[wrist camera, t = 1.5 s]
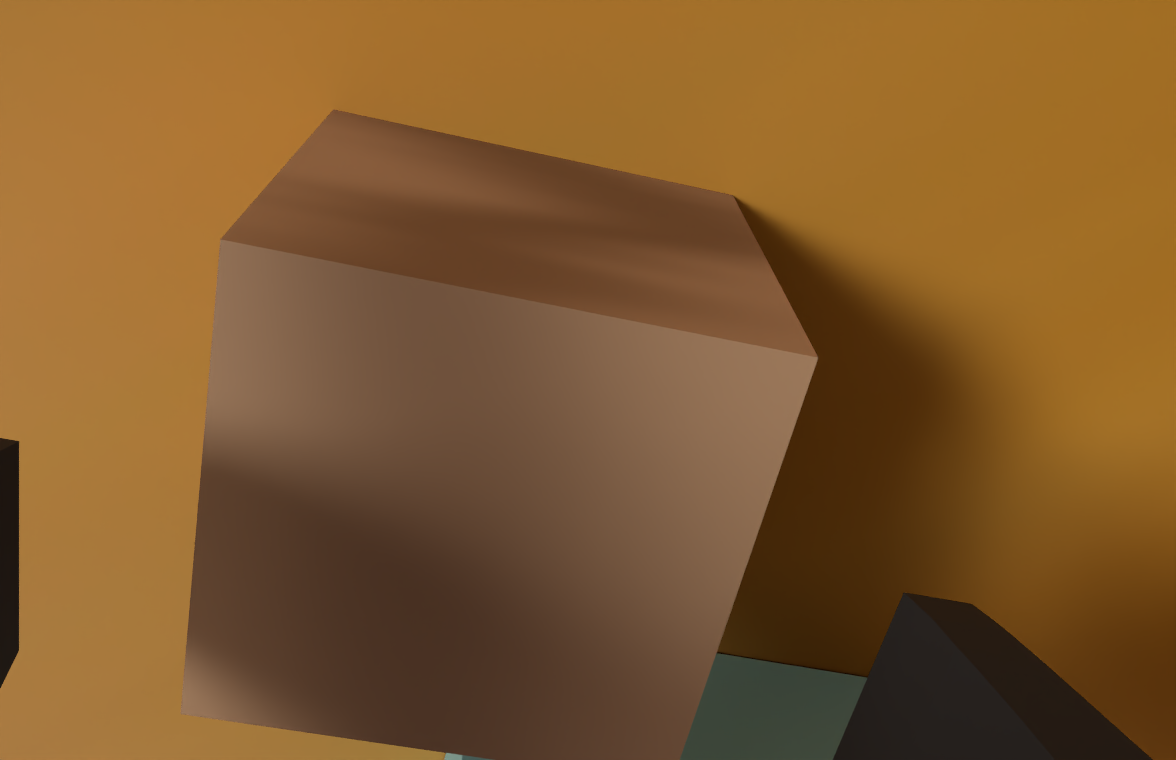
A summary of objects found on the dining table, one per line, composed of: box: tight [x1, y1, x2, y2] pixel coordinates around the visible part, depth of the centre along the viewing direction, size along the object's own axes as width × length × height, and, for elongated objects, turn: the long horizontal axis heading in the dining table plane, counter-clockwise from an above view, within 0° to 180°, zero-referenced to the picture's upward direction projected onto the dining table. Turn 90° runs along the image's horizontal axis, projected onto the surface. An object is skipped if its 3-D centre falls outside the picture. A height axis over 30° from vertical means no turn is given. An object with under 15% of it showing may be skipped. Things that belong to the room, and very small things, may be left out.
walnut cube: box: [181, 110, 818, 760], centre depth 12 cm, size 5×5×5 cm
